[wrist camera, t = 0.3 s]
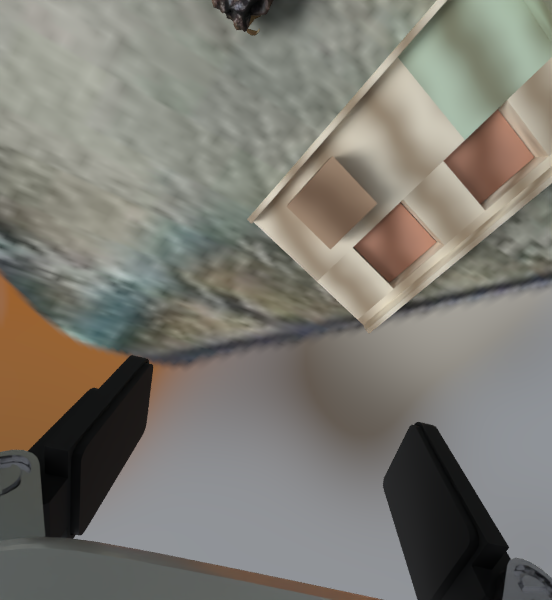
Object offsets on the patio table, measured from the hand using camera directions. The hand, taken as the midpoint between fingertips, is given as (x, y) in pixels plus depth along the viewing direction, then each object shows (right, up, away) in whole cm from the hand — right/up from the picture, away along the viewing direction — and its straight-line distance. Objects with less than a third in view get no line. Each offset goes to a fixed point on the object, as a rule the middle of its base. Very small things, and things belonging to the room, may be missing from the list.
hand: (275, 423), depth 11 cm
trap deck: (+14, +18, +22) cm, 32 cm away
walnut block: (+6, +15, +22) cm, 27 cm away
